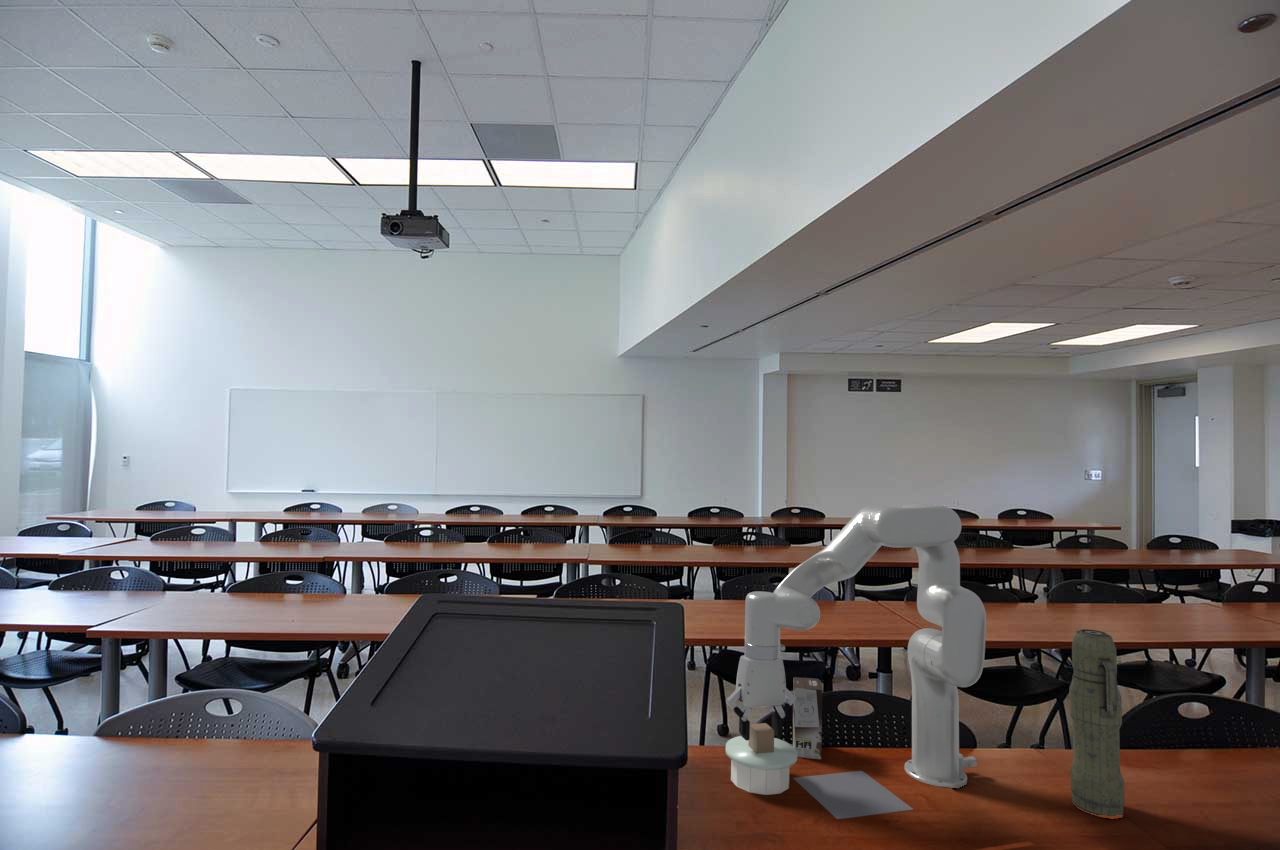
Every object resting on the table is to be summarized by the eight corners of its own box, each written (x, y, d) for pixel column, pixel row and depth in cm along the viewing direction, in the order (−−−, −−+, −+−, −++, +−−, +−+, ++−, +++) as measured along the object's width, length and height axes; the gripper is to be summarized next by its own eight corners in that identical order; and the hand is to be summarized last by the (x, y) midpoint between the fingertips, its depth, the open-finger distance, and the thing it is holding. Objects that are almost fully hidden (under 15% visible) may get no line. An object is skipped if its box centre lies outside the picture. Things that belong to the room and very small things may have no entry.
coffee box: (822, 762, 149) (822, 690, 150) (793, 758, 150) (794, 687, 151) (819, 746, 158) (820, 678, 159) (792, 743, 159) (793, 675, 160)
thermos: (1097, 794, 137) (1093, 625, 140) (1141, 824, 125) (1136, 639, 128) (1056, 793, 137) (1053, 624, 140) (1096, 823, 125) (1092, 638, 128)
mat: (862, 773, 144) (862, 770, 144) (913, 812, 127) (913, 809, 127) (792, 780, 139) (793, 777, 139) (837, 822, 123) (837, 818, 123)
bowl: (772, 768, 145) (772, 740, 145) (799, 793, 133) (799, 763, 134) (722, 772, 142) (723, 744, 142) (746, 799, 130) (746, 768, 131)
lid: (776, 737, 147) (776, 712, 148) (810, 766, 133) (811, 738, 133) (714, 742, 143) (715, 716, 144) (743, 772, 129) (743, 744, 129)
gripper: (789, 644, 146) (788, 726, 144) (717, 648, 141) (716, 732, 140) (807, 654, 138) (806, 740, 137) (731, 657, 134) (730, 747, 132)
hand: (760, 735), depth 138 cm, fingers open, 6 cm apart
